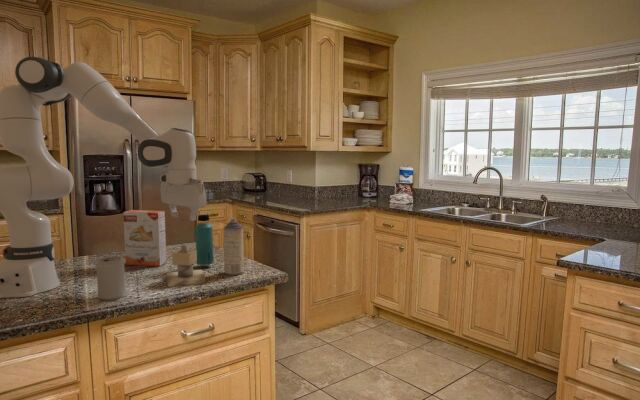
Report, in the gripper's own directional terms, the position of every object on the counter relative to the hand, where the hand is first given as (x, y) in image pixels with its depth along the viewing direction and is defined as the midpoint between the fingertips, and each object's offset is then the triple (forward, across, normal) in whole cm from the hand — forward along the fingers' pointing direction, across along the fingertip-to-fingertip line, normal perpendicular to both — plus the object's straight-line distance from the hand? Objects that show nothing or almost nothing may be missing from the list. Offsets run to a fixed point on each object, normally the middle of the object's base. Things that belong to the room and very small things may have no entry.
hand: (183, 218), depth 148 cm
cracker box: (+22, +28, -3) cm, 36 cm away
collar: (+15, 0, 0) cm, 15 cm away
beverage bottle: (+22, +8, -15) cm, 27 cm away
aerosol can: (+21, -7, -16) cm, 28 cm away
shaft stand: (+21, 0, 0) cm, 21 cm away
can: (+21, +2, +24) cm, 32 cm away
